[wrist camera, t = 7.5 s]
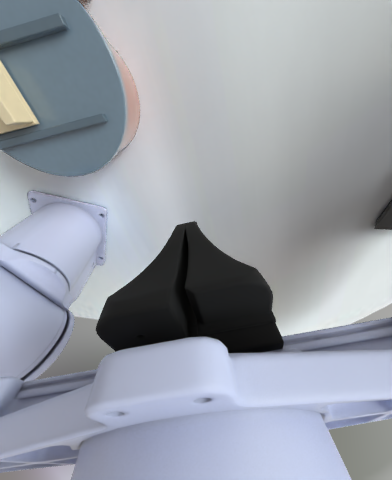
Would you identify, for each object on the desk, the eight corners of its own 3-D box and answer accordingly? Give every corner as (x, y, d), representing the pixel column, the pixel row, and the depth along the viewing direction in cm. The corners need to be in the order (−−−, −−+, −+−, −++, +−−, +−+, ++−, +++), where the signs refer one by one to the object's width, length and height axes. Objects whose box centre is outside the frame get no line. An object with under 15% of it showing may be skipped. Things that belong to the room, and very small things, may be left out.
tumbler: (113, -2, 12) (51, -113, 6) (157, 146, 18) (147, 161, 12) (-9, 35, 13) (-173, -35, 7) (71, 167, 18) (19, 192, 12)
